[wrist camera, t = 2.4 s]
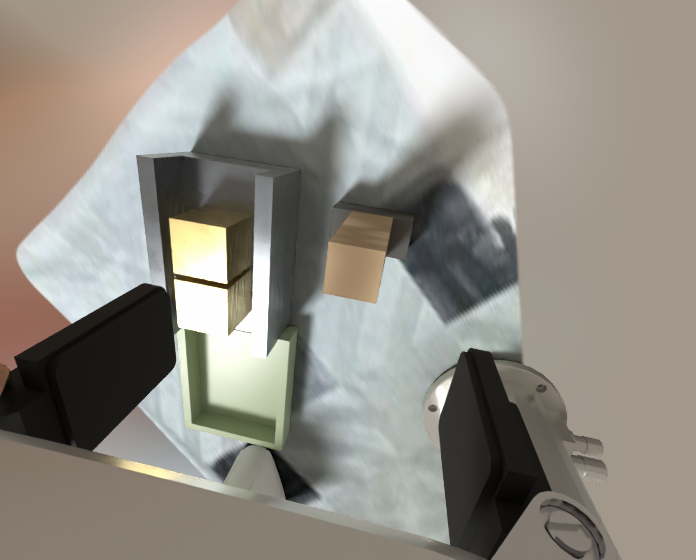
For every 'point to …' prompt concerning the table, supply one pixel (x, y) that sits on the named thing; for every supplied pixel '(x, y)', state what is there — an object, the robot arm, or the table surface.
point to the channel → (235, 196)
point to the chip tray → (237, 386)
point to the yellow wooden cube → (211, 243)
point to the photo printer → (256, 472)
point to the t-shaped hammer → (363, 248)
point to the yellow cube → (213, 303)
